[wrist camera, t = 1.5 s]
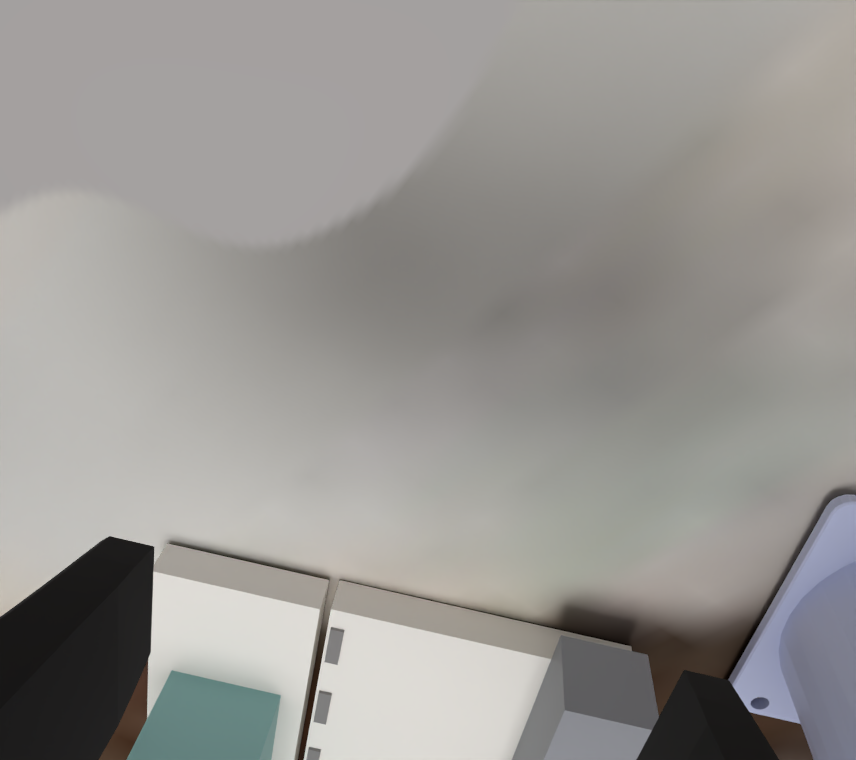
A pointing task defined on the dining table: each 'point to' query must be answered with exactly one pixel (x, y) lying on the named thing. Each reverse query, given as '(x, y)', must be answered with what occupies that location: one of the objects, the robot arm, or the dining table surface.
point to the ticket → (471, 686)
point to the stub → (228, 658)
